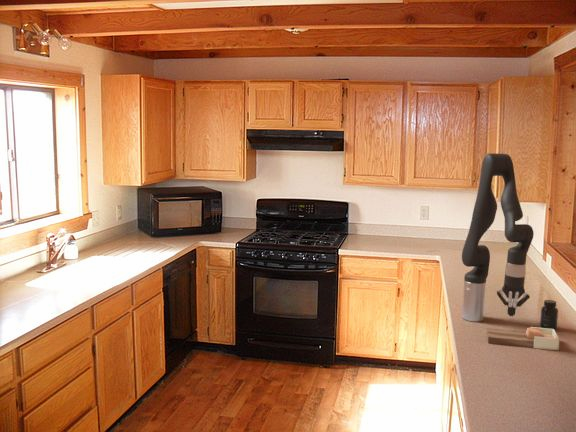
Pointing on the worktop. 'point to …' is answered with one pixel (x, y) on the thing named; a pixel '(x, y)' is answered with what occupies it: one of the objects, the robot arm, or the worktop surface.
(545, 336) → the tile
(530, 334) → the tile
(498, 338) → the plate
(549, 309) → the supplement bottle
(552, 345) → the tray
